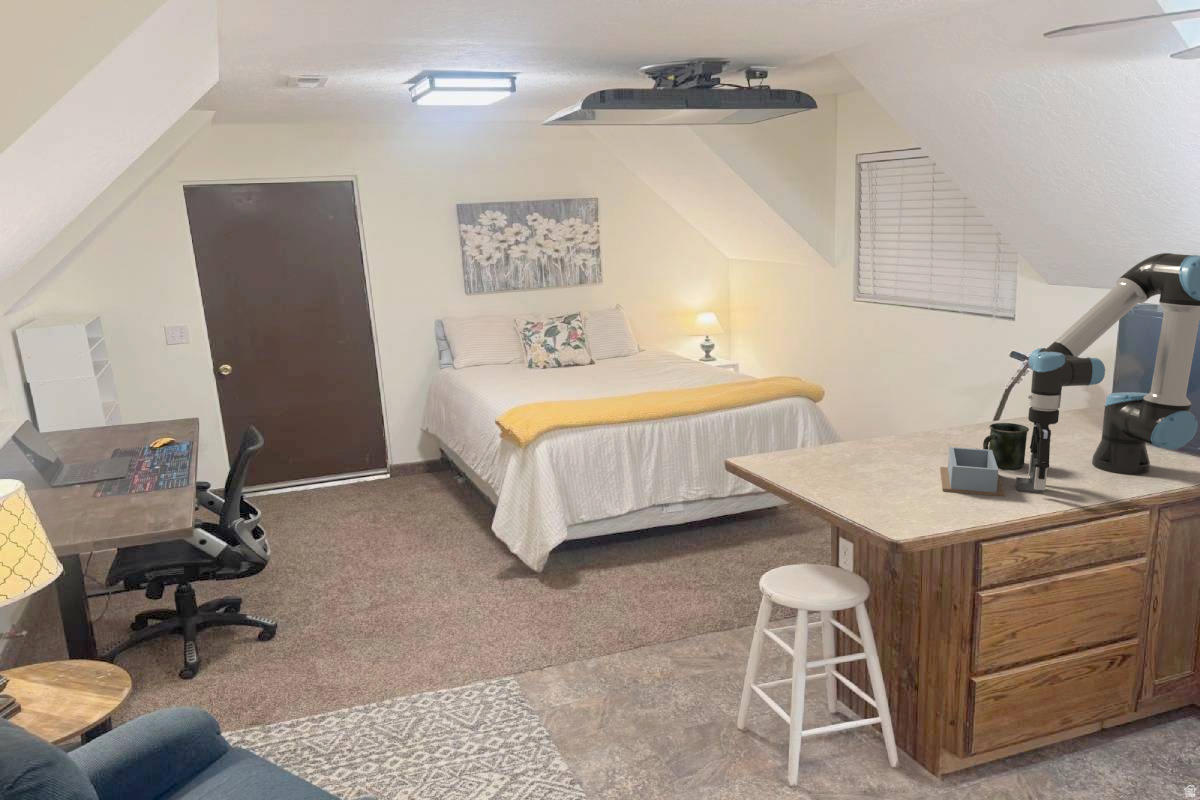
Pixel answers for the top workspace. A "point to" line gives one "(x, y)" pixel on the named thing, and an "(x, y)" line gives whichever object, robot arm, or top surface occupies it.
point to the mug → (1007, 444)
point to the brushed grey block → (1028, 483)
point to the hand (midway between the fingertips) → (1036, 482)
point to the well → (971, 472)
